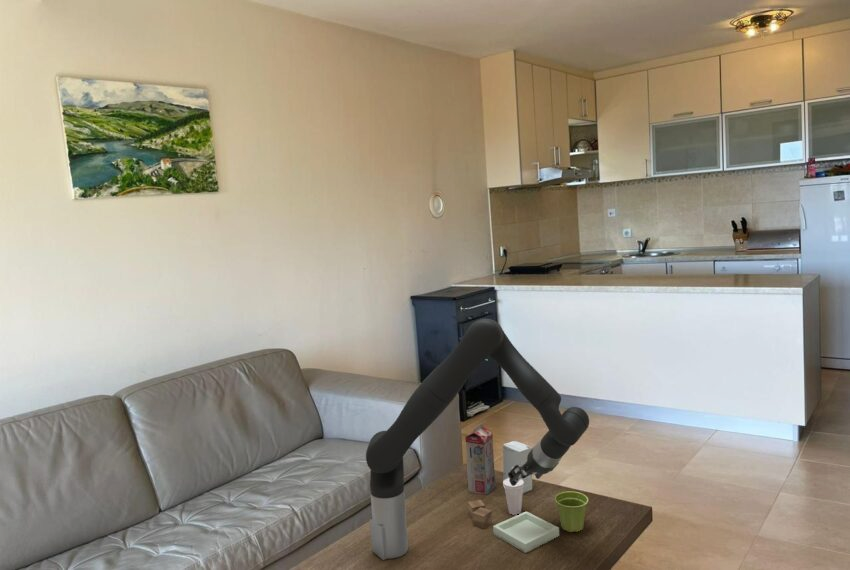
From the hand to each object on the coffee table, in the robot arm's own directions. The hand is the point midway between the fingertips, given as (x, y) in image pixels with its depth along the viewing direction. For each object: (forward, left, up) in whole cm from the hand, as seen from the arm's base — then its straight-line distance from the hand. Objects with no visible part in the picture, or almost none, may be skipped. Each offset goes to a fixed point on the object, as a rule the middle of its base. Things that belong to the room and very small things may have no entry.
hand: (524, 479), depth 185 cm
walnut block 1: (-9, +12, -13) cm, 20 cm away
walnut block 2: (-11, +7, -13) cm, 18 cm away
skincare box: (+13, +17, -13) cm, 25 cm away
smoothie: (+1, +6, -13) cm, 14 cm away
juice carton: (+4, +25, -13) cm, 28 cm away
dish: (-6, -6, -13) cm, 15 cm away
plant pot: (+7, -12, -13) cm, 19 cm away
